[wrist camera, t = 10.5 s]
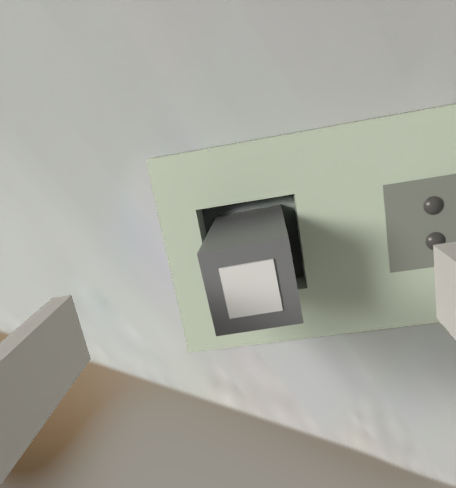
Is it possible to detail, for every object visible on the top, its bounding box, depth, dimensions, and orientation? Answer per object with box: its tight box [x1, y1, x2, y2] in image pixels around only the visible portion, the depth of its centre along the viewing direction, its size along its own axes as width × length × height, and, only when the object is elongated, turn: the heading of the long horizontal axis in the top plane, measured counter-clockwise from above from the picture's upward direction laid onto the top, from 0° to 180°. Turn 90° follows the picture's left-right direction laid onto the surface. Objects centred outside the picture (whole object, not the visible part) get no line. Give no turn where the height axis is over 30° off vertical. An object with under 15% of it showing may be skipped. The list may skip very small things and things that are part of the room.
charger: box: [197, 205, 304, 336], centre depth 22 cm, size 4×4×8 cm
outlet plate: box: [146, 104, 456, 353], centre depth 24 cm, size 12×20×2 cm, turn 100°
